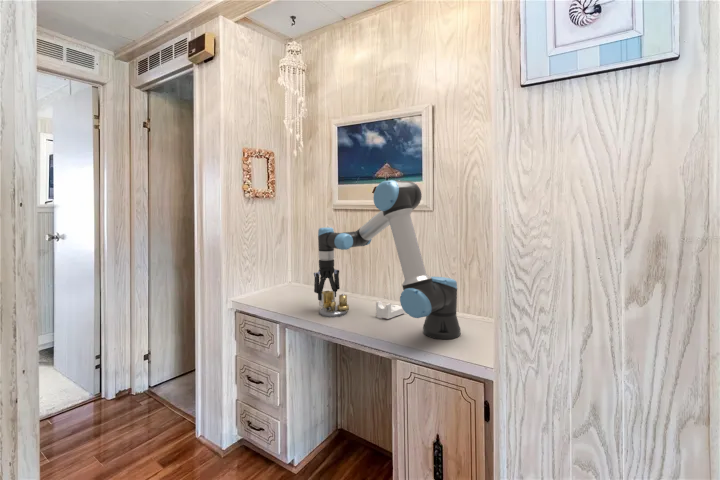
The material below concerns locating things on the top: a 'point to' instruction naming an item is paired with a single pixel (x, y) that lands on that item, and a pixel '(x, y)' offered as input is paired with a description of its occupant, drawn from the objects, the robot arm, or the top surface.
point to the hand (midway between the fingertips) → (327, 305)
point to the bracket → (388, 310)
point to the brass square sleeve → (327, 298)
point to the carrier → (336, 308)
